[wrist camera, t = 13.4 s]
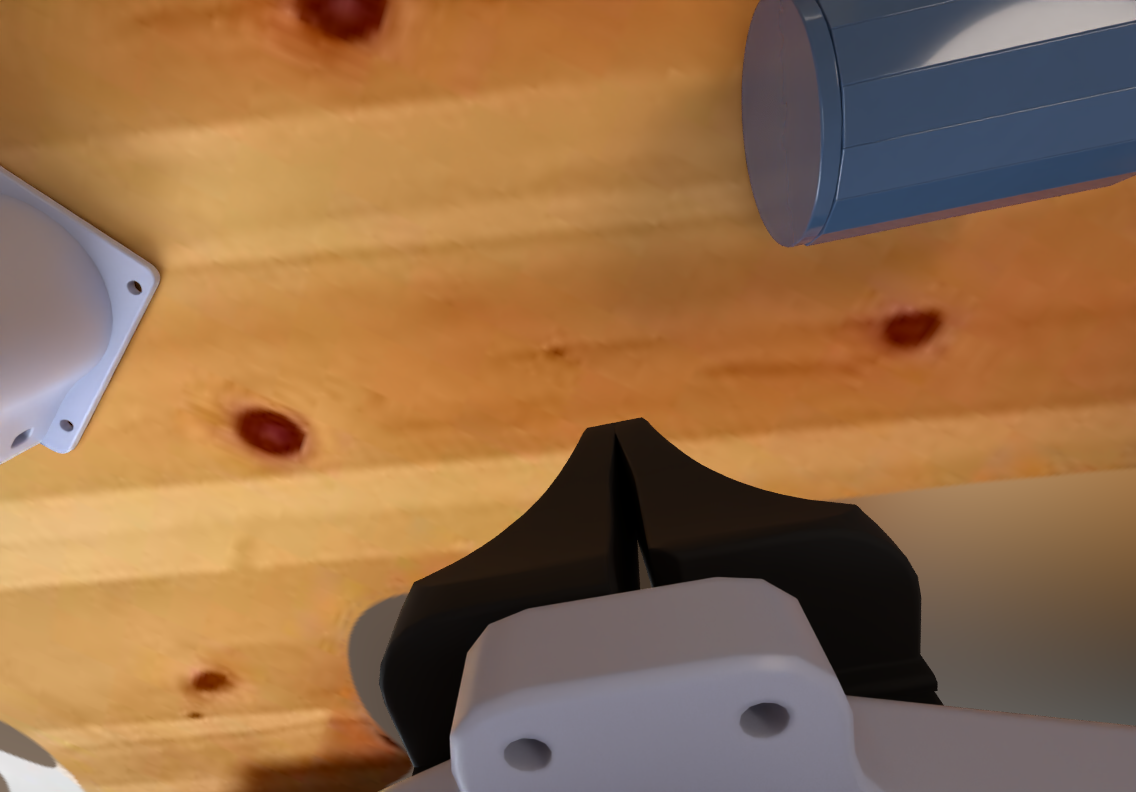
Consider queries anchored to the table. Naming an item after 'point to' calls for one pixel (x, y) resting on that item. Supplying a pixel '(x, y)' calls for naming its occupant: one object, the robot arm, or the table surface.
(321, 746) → the table surface
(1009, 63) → the blue cup
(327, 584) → the table surface
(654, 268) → the table surface
